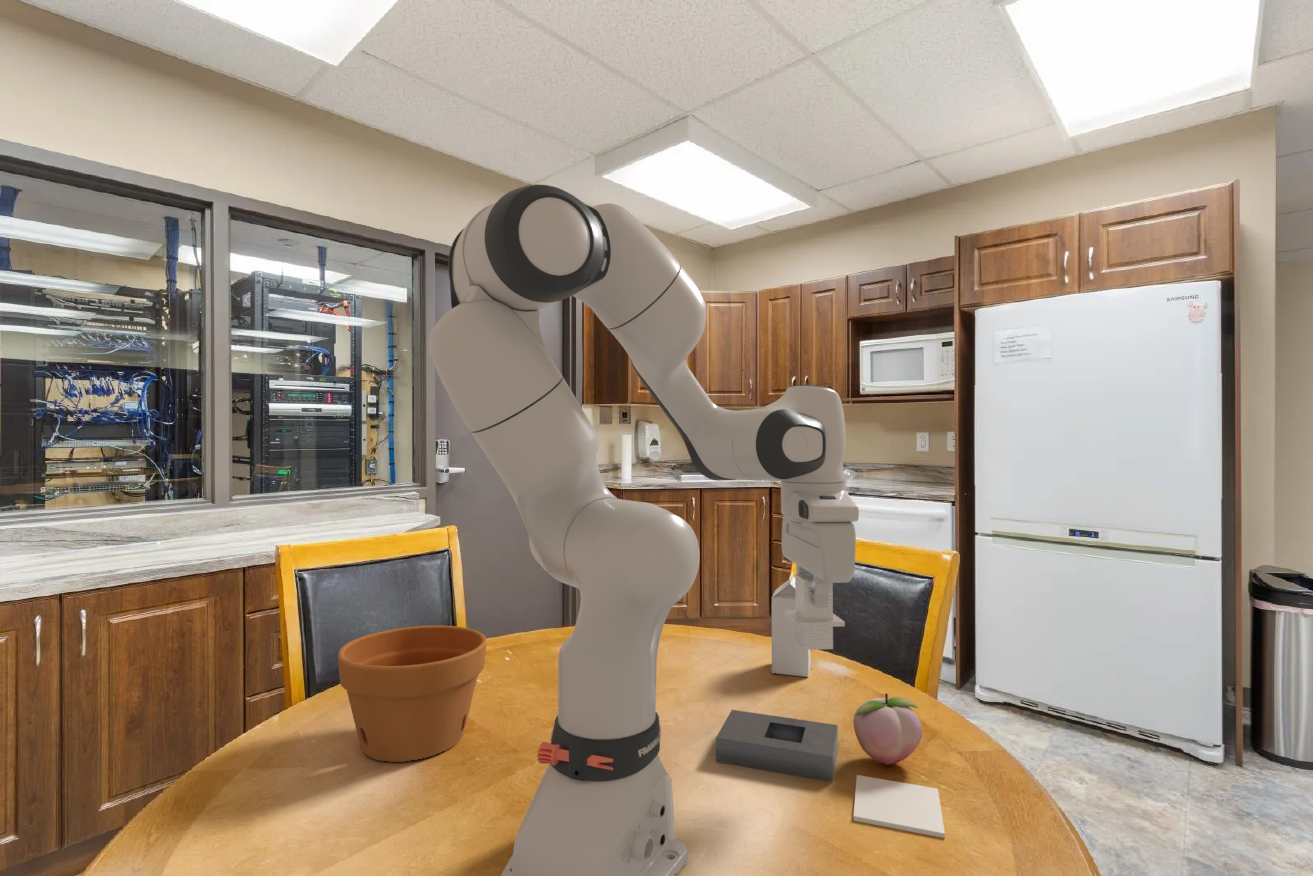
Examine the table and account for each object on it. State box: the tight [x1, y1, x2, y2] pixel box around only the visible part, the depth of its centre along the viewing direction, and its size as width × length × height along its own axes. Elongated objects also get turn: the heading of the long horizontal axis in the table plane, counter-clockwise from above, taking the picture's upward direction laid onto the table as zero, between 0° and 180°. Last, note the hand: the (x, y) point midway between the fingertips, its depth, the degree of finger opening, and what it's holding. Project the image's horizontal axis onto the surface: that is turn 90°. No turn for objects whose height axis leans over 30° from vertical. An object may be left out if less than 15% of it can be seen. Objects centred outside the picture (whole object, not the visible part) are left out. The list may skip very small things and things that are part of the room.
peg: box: [785, 573, 846, 651], centre depth 88 cm, size 6×6×10 cm
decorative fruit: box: [853, 693, 923, 766], centre depth 89 cm, size 9×8×10 cm
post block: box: [715, 709, 839, 783], centre depth 92 cm, size 10×16×4 cm, turn 70°
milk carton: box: [771, 571, 812, 678], centre depth 127 cm, size 7×7×19 cm
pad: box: [852, 774, 946, 839], centre depth 79 cm, size 10×10×1 cm
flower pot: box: [337, 624, 487, 763], centre depth 96 cm, size 21×21×15 cm
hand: (813, 601), depth 88 cm, fingers closed on peg, 4 cm apart
